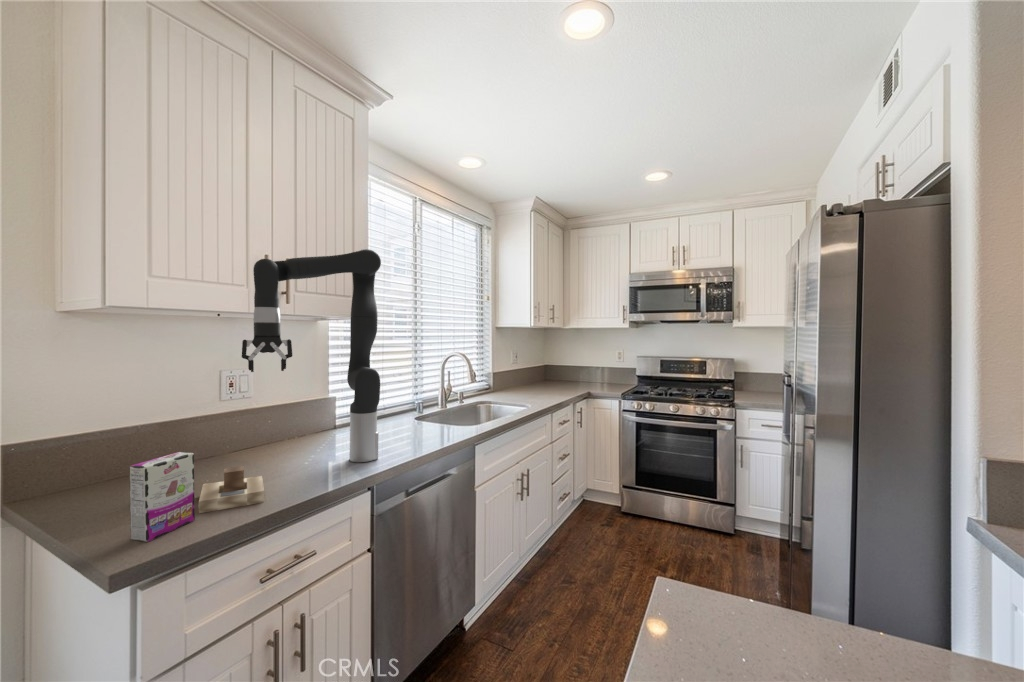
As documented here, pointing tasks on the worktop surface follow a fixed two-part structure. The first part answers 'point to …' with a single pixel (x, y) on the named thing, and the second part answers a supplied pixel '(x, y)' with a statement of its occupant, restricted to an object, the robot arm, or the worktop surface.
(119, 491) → the worktop surface
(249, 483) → the socket plate
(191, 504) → the candy bar box
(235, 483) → the walnut post
